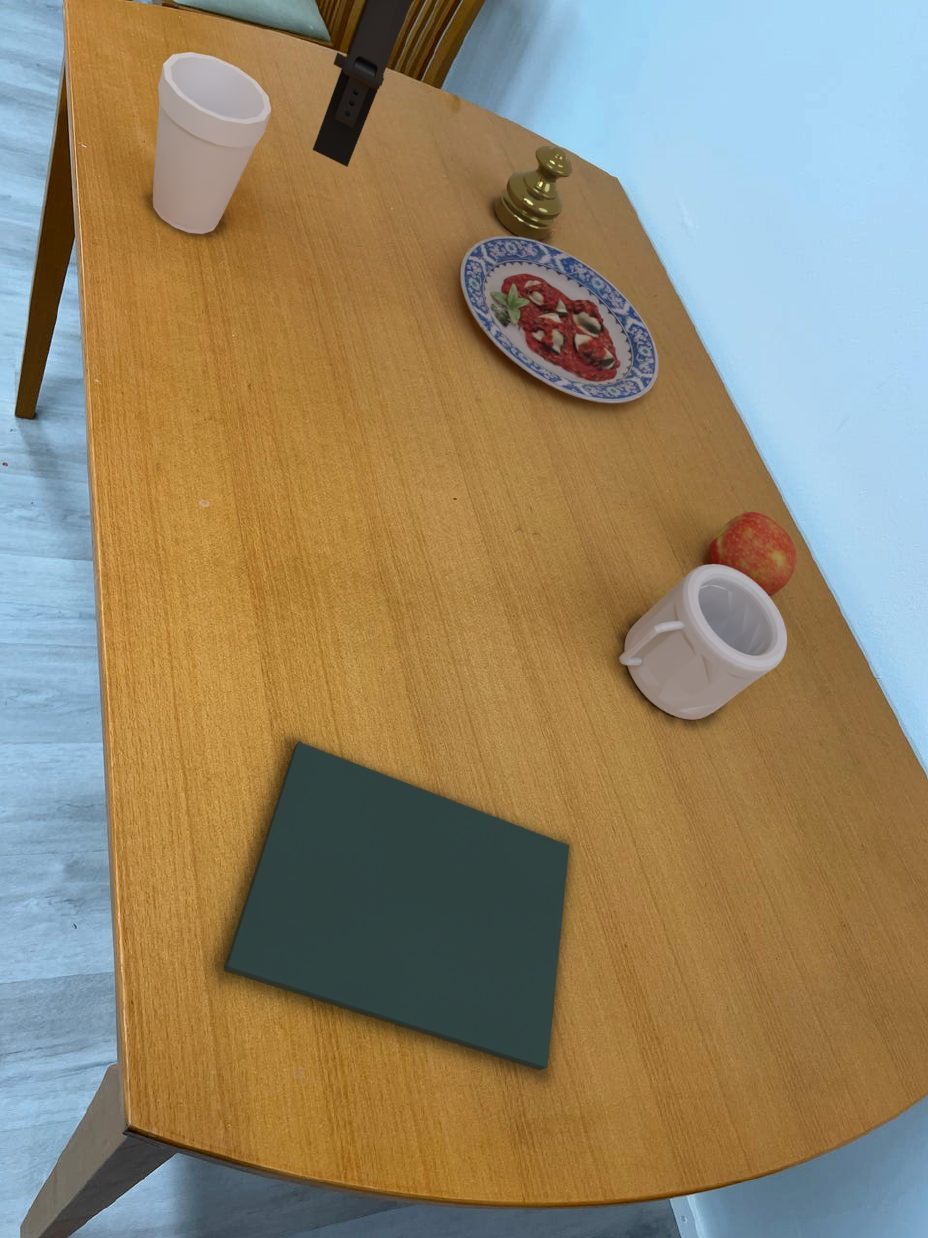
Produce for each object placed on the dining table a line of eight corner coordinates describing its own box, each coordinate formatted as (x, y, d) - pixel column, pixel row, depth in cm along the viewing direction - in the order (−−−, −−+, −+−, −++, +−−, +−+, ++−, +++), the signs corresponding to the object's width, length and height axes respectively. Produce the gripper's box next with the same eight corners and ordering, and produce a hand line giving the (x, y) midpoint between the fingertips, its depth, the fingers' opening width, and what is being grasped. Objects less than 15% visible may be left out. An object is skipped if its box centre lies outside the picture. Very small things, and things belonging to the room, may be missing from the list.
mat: (223, 970, 59) (227, 966, 58) (294, 747, 69) (298, 741, 68) (540, 1070, 64) (547, 1068, 63) (562, 849, 74) (569, 845, 73)
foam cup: (237, 254, 95) (276, 135, 85) (139, 231, 90) (168, 103, 81) (228, 192, 99) (263, 72, 90) (133, 167, 95) (160, 39, 85)
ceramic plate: (645, 310, 124) (659, 292, 121) (651, 448, 108) (666, 430, 106) (463, 219, 116) (474, 198, 114) (441, 353, 100) (453, 331, 98)
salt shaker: (484, 197, 121) (522, 125, 114) (531, 205, 125) (570, 136, 118) (507, 239, 118) (548, 167, 111) (554, 245, 122) (597, 176, 115)
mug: (690, 618, 95) (756, 560, 88) (736, 717, 91) (810, 664, 83) (580, 623, 88) (643, 560, 81) (624, 730, 84) (694, 674, 76)
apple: (714, 534, 105) (763, 487, 99) (771, 589, 104) (824, 545, 98) (683, 566, 99) (733, 519, 93) (743, 624, 98) (797, 581, 92)
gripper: (506, -101, 53) (367, 220, 69) (526, -222, 68) (409, 64, 84) (378, -179, 51) (265, 171, 66) (429, -285, 66) (327, 20, 82)
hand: (345, 112), depth 75 cm, fingers open, 13 cm apart
